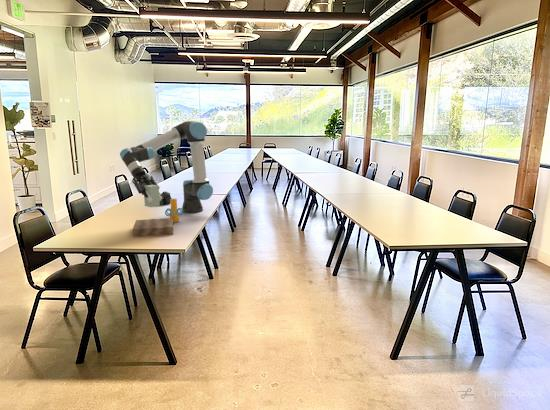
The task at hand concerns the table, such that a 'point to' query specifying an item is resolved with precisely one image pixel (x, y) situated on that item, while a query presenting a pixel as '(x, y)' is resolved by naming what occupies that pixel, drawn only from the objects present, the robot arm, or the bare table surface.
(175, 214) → the orange post with rings
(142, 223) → the walnut block
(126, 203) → the table surface
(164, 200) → the camera
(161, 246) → the table surface
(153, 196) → the sage block
